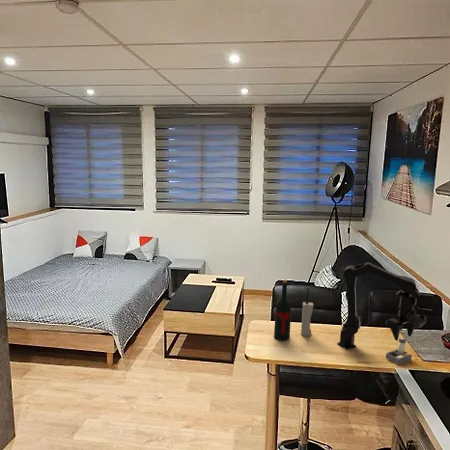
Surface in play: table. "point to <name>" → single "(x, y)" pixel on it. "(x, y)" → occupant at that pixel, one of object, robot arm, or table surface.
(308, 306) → the vintage mobile phone
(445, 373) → the table surface
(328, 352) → the table surface
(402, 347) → the plug
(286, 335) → the wine bottle
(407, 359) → the grey compartment tray
